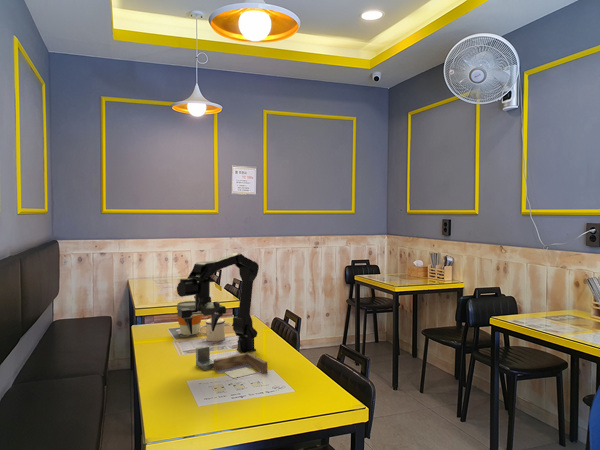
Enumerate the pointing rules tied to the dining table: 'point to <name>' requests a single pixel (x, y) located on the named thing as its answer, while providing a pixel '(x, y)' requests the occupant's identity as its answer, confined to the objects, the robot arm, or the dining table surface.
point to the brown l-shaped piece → (241, 362)
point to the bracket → (204, 358)
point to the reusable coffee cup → (196, 317)
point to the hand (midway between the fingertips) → (202, 332)
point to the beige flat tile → (240, 372)
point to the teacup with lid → (218, 331)
